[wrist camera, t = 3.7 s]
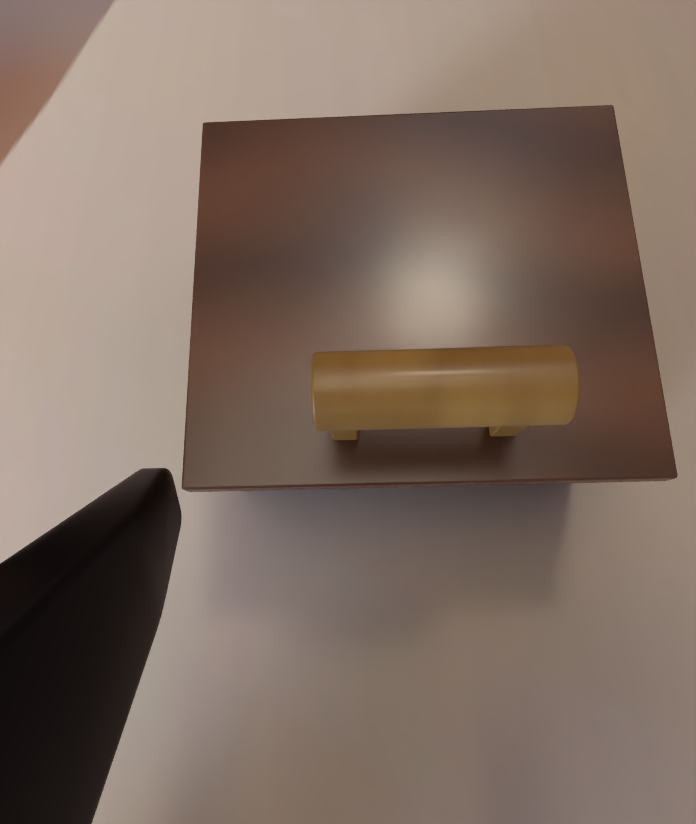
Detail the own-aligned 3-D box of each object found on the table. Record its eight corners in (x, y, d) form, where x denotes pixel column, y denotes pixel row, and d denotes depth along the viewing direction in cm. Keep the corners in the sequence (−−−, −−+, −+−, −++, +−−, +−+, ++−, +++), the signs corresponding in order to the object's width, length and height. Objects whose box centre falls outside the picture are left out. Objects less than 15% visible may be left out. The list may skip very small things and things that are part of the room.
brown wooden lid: (666, 481, 14) (802, 446, 10) (188, 492, 14) (108, 463, 10) (605, 119, 17) (689, -36, 13) (207, 136, 17) (152, -9, 13)
